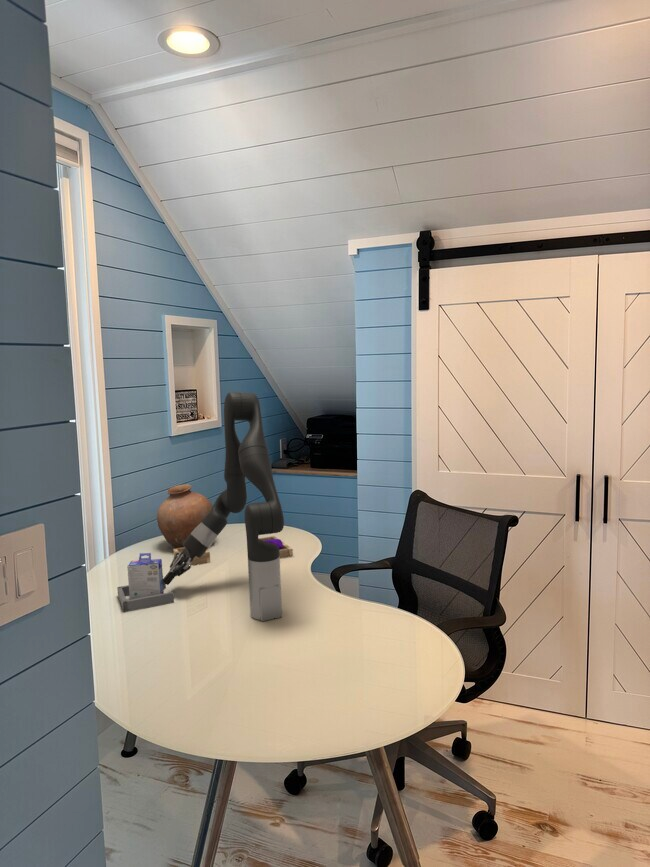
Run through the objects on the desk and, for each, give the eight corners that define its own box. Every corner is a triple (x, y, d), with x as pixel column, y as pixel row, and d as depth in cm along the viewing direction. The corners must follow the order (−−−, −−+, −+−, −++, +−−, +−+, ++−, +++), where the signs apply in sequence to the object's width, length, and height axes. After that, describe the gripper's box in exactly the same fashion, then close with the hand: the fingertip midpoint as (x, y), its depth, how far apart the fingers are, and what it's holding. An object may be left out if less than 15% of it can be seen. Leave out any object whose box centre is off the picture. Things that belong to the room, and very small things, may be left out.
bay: (174, 602, 187) (173, 592, 186) (123, 612, 180) (123, 602, 180) (165, 587, 200) (164, 578, 199) (117, 596, 193) (117, 587, 193)
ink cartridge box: (164, 594, 193) (162, 551, 191) (161, 601, 188) (158, 556, 186) (133, 596, 192) (130, 552, 191) (129, 603, 187) (126, 558, 185)
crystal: (262, 536, 242) (286, 539, 232) (264, 548, 243) (287, 552, 232) (253, 539, 239) (277, 542, 228) (254, 551, 239) (278, 555, 228)
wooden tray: (210, 562, 223) (209, 552, 223) (180, 567, 219) (179, 557, 218) (202, 554, 234) (202, 544, 233) (173, 559, 229) (173, 549, 228)
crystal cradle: (292, 556, 227) (292, 548, 227) (268, 560, 223) (267, 553, 223) (273, 542, 246) (273, 535, 245) (250, 546, 241) (250, 539, 241)
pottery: (224, 538, 255) (220, 480, 252) (203, 555, 232) (200, 492, 229) (173, 537, 259) (170, 480, 256) (148, 554, 236) (144, 491, 233)
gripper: (187, 528, 201) (152, 570, 197) (196, 538, 189) (159, 583, 185) (204, 541, 203) (169, 582, 200) (214, 551, 192) (177, 596, 188)
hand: (164, 582), depth 192 cm, fingers closed
